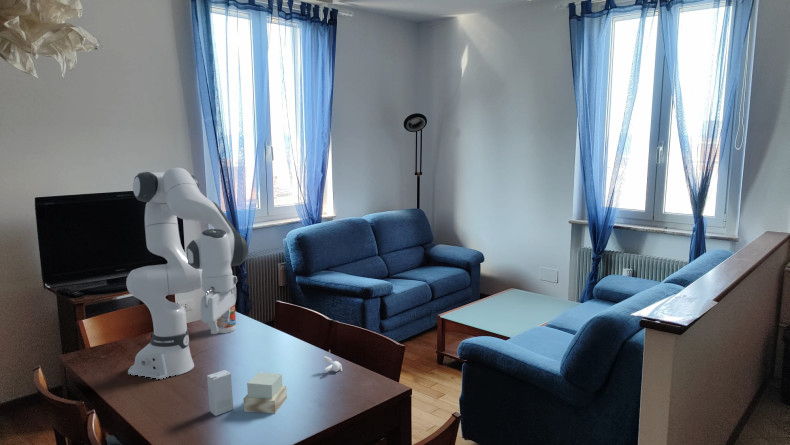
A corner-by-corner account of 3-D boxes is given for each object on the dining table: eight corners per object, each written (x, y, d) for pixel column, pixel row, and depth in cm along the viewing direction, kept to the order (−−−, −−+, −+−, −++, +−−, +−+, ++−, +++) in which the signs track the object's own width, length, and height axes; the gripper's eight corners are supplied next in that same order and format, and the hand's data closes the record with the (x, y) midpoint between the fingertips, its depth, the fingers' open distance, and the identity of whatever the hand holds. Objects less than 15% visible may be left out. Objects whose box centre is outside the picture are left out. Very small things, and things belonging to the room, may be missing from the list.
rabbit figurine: (345, 373, 192) (326, 368, 188) (339, 379, 194) (320, 374, 190) (343, 359, 197) (325, 353, 193) (337, 365, 198) (319, 359, 194)
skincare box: (227, 405, 170) (225, 368, 168) (234, 410, 167) (232, 373, 165) (208, 411, 166) (206, 374, 164) (215, 417, 162) (212, 379, 161)
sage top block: (247, 396, 166) (247, 383, 166) (258, 385, 174) (258, 372, 173) (272, 399, 165) (271, 385, 164) (282, 387, 173) (281, 374, 172)
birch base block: (244, 412, 166) (243, 398, 165) (257, 397, 176) (256, 384, 175) (275, 414, 164) (274, 400, 164) (286, 399, 174) (286, 386, 174)
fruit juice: (214, 327, 241) (210, 266, 236) (236, 325, 243) (233, 264, 239) (213, 334, 232) (209, 271, 227) (235, 332, 234) (232, 269, 230)
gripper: (215, 292, 152) (218, 339, 154) (238, 275, 172) (241, 317, 174) (193, 292, 152) (196, 339, 154) (219, 276, 172) (222, 318, 174)
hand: (220, 328), depth 164 cm, fingers open, 8 cm apart
